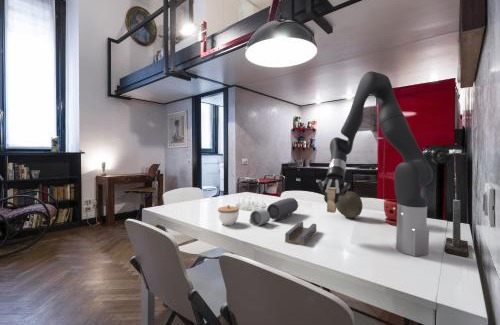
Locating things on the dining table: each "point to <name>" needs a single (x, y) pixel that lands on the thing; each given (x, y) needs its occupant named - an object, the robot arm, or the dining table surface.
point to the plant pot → (390, 211)
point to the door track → (300, 234)
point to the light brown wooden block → (331, 200)
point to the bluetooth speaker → (282, 208)
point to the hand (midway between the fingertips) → (330, 201)
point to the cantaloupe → (349, 204)
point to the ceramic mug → (259, 217)
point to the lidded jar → (228, 214)
